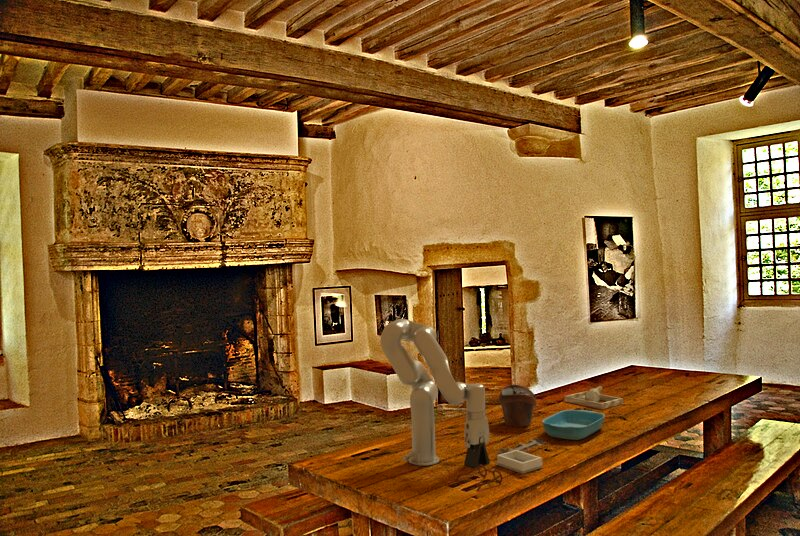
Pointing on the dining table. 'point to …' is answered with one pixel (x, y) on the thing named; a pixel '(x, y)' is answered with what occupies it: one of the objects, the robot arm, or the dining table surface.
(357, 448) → the dining table surface
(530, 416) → the brown bucket
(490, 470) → the glasses
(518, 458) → the cream rectangular tray
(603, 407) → the cheese board rim
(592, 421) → the casserole dish
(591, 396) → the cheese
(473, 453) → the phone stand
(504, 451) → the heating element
